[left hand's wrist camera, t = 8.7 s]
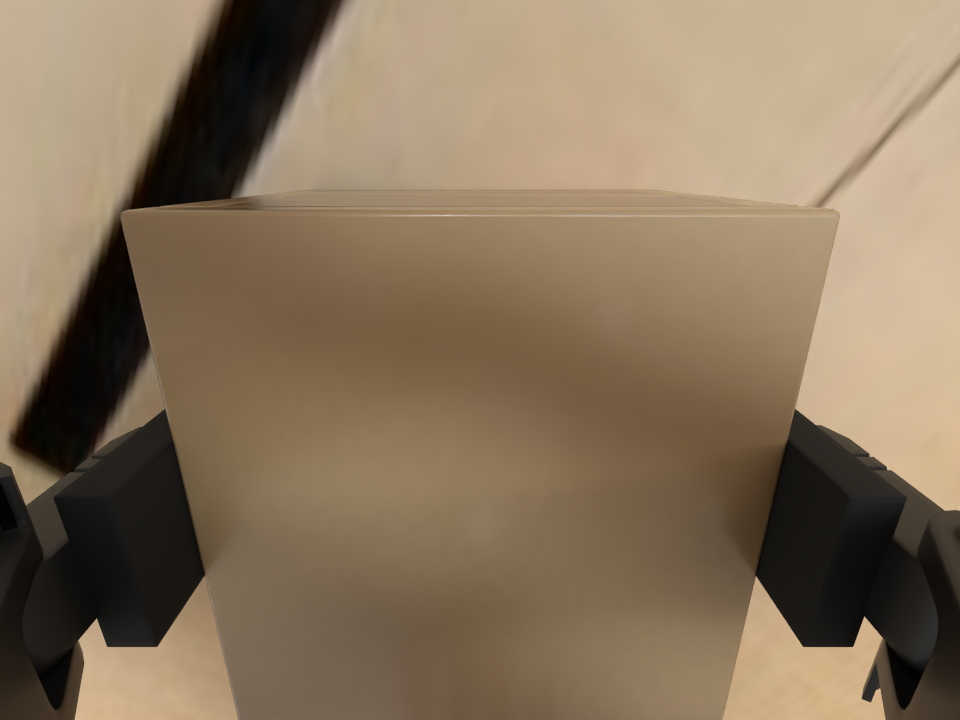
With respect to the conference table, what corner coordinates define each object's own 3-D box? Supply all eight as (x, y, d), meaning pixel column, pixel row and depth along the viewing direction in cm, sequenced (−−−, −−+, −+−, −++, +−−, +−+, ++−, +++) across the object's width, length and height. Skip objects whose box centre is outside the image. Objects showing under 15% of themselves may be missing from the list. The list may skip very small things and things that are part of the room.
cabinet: (595, 720, 22) (656, 1008, 14) (365, 720, 22) (305, 1008, 14) (654, 189, 14) (844, 209, 7) (305, 190, 14) (115, 210, 7)
